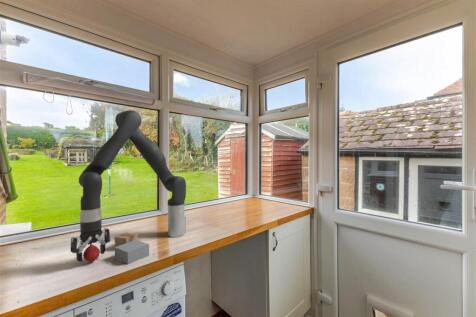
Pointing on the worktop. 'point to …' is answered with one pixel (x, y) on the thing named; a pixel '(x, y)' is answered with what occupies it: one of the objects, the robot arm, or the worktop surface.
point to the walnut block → (125, 238)
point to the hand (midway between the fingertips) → (91, 257)
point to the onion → (91, 253)
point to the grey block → (131, 251)
